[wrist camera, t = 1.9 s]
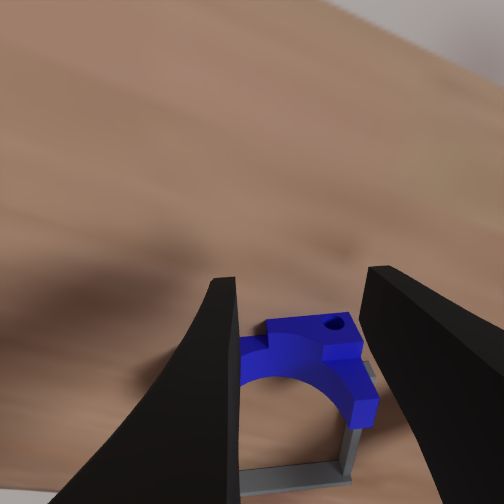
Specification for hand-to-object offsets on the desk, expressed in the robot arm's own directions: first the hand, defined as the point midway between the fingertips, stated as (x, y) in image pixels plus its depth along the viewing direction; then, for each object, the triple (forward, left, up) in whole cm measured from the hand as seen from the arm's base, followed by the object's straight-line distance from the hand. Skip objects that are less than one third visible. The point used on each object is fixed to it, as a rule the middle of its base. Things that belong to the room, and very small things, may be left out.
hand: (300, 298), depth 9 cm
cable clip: (0, +12, -10) cm, 15 cm away
